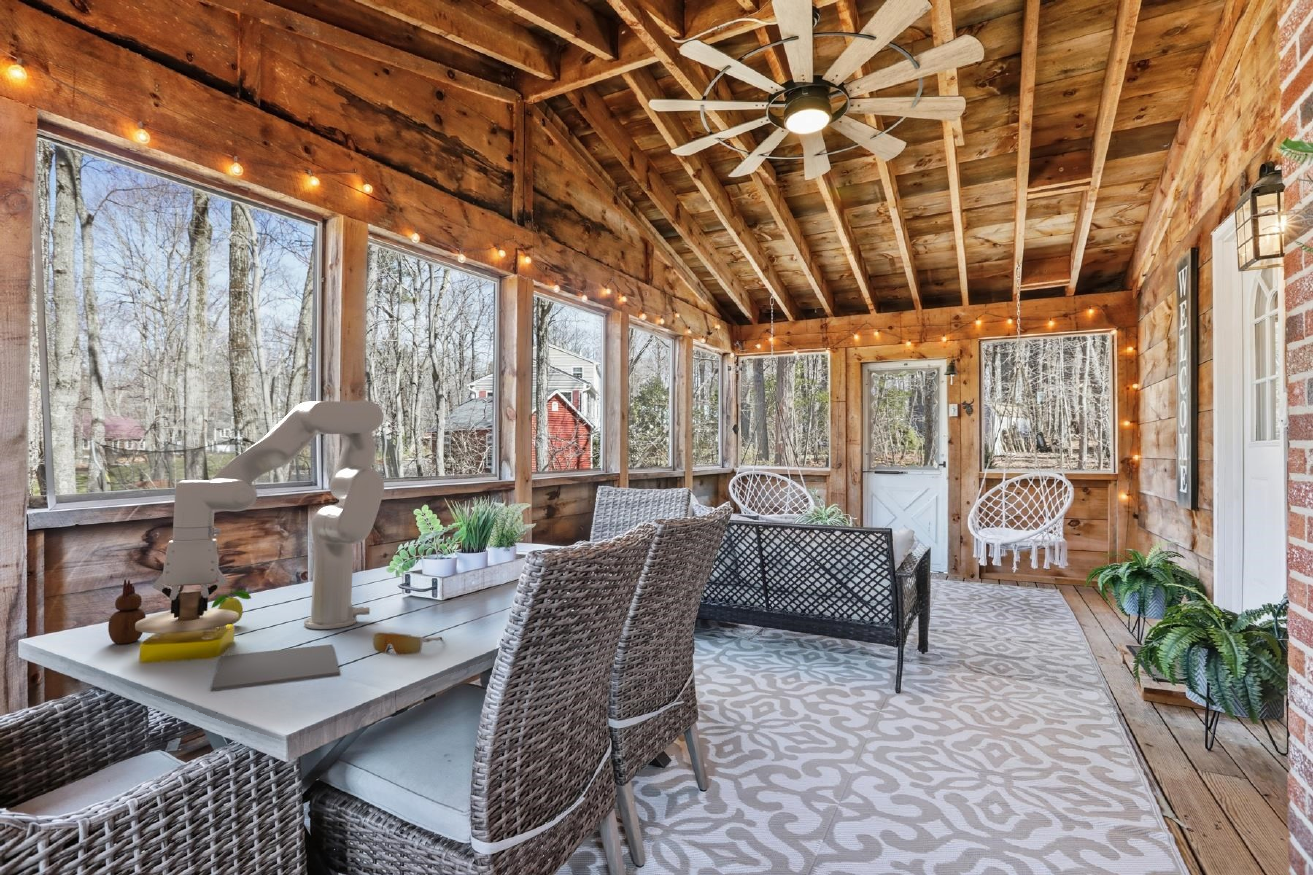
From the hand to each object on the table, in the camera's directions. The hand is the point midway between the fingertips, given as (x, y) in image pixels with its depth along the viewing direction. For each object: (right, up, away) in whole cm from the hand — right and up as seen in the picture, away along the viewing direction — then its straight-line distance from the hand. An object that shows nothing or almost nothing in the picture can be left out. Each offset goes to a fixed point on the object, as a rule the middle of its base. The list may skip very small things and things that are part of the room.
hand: (189, 614), depth 147 cm
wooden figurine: (-19, -8, +5) cm, 21 cm away
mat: (+25, -9, -9) cm, 28 cm away
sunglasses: (+46, -10, +9) cm, 48 cm away
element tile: (0, -9, 0) cm, 9 cm away
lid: (0, -2, 0) cm, 2 cm away
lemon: (-5, -9, +21) cm, 24 cm away
